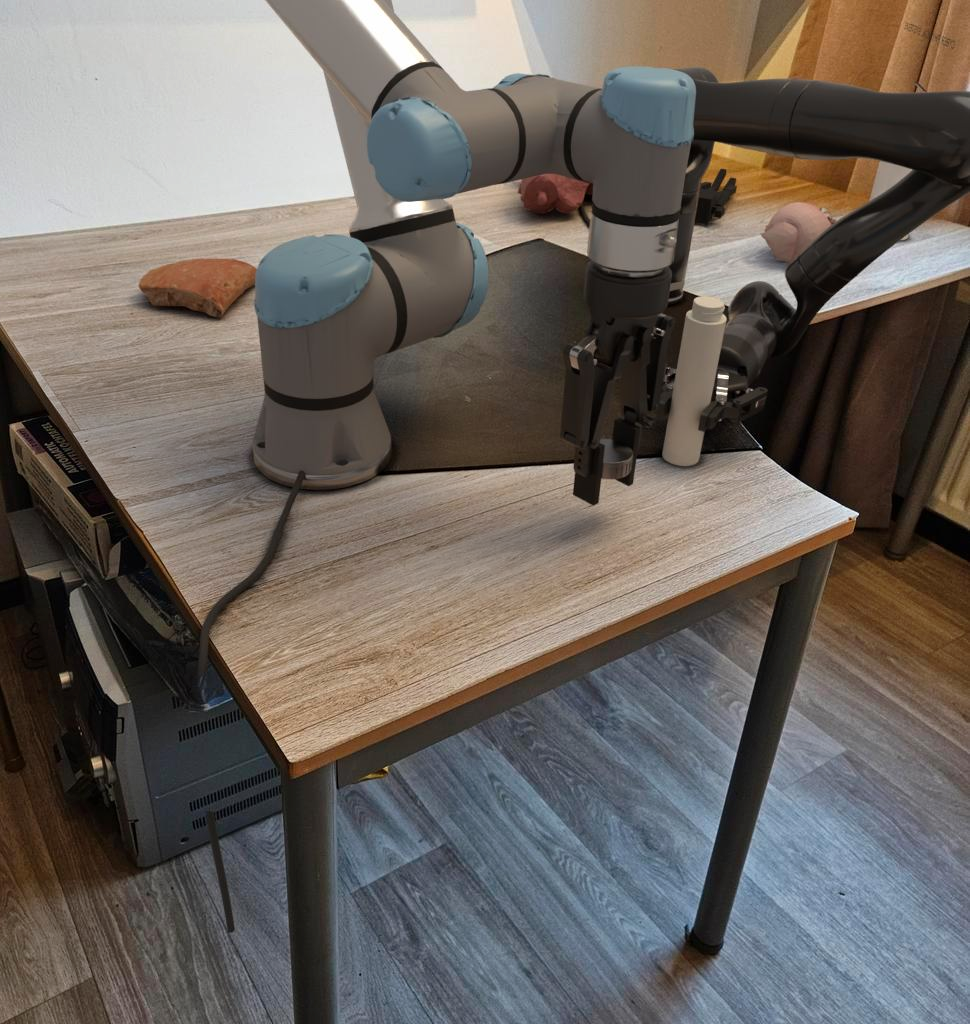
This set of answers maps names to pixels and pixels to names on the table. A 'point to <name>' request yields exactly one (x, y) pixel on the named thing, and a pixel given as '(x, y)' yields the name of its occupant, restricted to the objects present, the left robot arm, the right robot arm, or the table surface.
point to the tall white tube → (892, 172)
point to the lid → (616, 459)
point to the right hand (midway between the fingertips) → (681, 417)
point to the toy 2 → (795, 229)
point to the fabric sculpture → (553, 193)
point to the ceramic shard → (199, 284)
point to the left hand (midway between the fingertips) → (603, 488)
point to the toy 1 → (714, 198)
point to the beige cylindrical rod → (694, 380)
